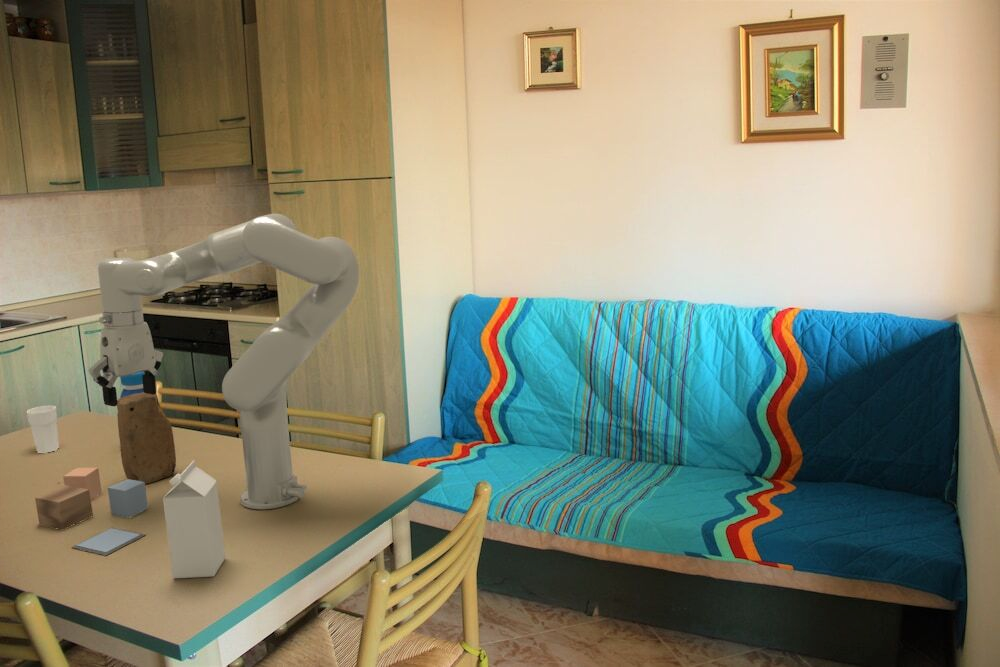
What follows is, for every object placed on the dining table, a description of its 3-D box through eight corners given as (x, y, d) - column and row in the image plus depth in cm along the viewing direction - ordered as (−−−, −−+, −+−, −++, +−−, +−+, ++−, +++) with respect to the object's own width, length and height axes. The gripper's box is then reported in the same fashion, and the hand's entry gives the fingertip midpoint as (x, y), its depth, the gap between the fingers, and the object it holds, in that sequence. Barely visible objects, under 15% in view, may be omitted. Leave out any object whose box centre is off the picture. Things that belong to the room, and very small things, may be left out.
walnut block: (93, 516, 173) (89, 489, 172) (63, 530, 167) (58, 502, 165) (69, 512, 176) (65, 485, 175) (39, 525, 170) (35, 497, 168)
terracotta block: (101, 493, 185) (98, 467, 184) (89, 502, 180) (85, 476, 179) (80, 493, 186) (76, 467, 184) (67, 502, 181) (63, 476, 180)
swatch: (145, 535, 163) (145, 533, 163) (106, 556, 154) (105, 554, 154) (111, 528, 166) (111, 526, 166) (71, 548, 158) (71, 546, 158)
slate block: (148, 508, 176) (144, 482, 174) (128, 518, 171) (125, 490, 170) (131, 505, 178) (127, 479, 177) (111, 514, 173) (107, 487, 172)
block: (132, 488, 187) (120, 402, 183) (122, 479, 193) (111, 396, 189) (180, 475, 194) (170, 392, 190) (170, 467, 199) (160, 386, 195)
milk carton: (225, 558, 152) (214, 459, 148) (214, 577, 145) (201, 474, 141) (186, 560, 152) (174, 461, 148) (172, 579, 145) (159, 476, 141)
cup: (36, 448, 217) (29, 407, 215) (64, 444, 219) (58, 404, 217) (30, 456, 211) (23, 414, 209) (59, 452, 213) (53, 411, 211)
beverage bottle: (168, 443, 217) (159, 368, 213) (139, 453, 210) (129, 376, 206) (148, 438, 221) (138, 365, 217) (119, 448, 214) (108, 373, 210)
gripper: (98, 327, 162) (107, 412, 165) (170, 313, 177) (176, 391, 180) (73, 324, 165) (82, 407, 168) (145, 310, 180) (152, 387, 183)
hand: (131, 399), depth 174 cm, fingers open, 9 cm apart
